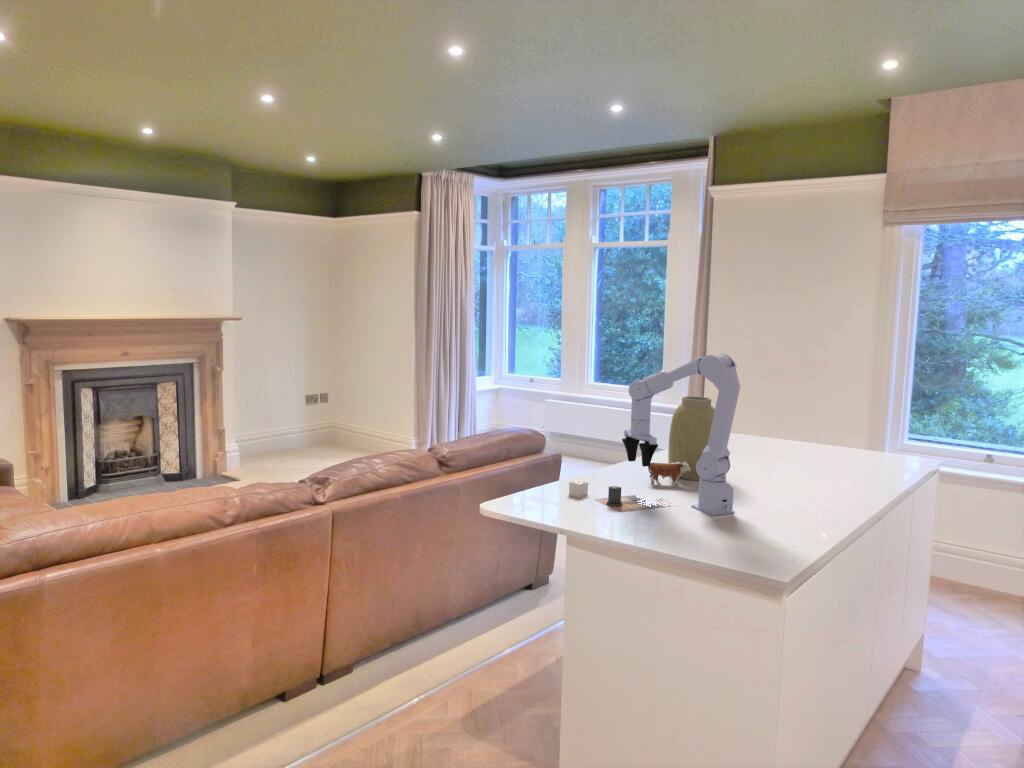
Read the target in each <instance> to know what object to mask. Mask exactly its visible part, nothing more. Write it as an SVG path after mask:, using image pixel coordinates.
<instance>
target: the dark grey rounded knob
mask: <svg viewBox="0 0 1024 768" xmlns="http://www.w3.org/2000/svg"><path fill="white" fill-rule="evenodd" d="M607 495H608V496H607V498H608V501H607V505H608V506H607V505H606V506H607V507H609V506H612V507H620V506H622V502H621V497H622V487H620V486H617V485H611V486H608V494H607Z"/></svg>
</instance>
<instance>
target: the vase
mask: <svg viewBox="0 0 1024 768" xmlns="http://www.w3.org/2000/svg"><path fill="white" fill-rule="evenodd" d="M714 412H715V407H714V406H713V405H712V398H710V397H704V396H683V397H682V398H681V404H680V405H678V406H677V407H676V409H675V410H674V411H673V414H672V419H671V422H670V427H669V437H668V447H667V448H668V450H667V451H668V453H667V461H668V462H667V463H676V462H681V463H683V462H684V461H685V462H686V463H687V464H688V465H689V468H690V469H691V471H689V472H688V471H687V472H685V473H683V474H682V475H681V476H680V477H679V478H678V479H682V480H688V479H689V480H688V481H699V478H700V476H699V475H698V474H697V472H696V464H697V462H698V460H699V459H700V458H701V455H702V452H703V450H704V449H705V447H706V446H707V444H708V440H709V435H710V430H711V426H712V421H713V416H714Z"/></svg>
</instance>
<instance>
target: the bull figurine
mask: <svg viewBox="0 0 1024 768" xmlns="http://www.w3.org/2000/svg"><path fill="white" fill-rule="evenodd" d="M647 469H648V473H650V475H649V478H650V483H652V484H655V482H656V485H657V486H662V483H660V481H659V476H660V477H661V478H662V479H663V480H665V478H666V477H667V478H669V477H670V478H672V481H671V486H672V485H673V486H672V487H675V486H676V485H679V483H678V479H680V478H679V477H680V476H681V475H682V474H683V473H685V472H687V471H688V472H689V471H691V469H690V468H689V465H688V464H687V463H686V462H685V461H684V462H683V463H681V462H676V463H668V462H667V463H665V462H664V463H663V462H662V463H661V462H650V466H647Z"/></svg>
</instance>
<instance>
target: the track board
mask: <svg viewBox="0 0 1024 768" xmlns="http://www.w3.org/2000/svg"><path fill="white" fill-rule="evenodd" d="M636 495H637V494H636ZM636 495H635V494H633V495H626V496H625V495H624V496H621V502H622V506H620V507H612V506H608V505H607V501H608V497H606V498H595V499H594V501H597V502H599V503H601V504H603V505H605V506H607V507H609V508H611V509H613V510H614V511H617V512H619V513H624V512H635V511H644V510H654V509H661V508H662V509H663V508H670V505H668V506H669V507H668V506H667V507H665V506H662V505H666V504H663V503H664V502H661V501H663V500H664V498H663V497H660V498H661V499H659V500H658V501H657V502H659V501H660V500H661V501H660V503H661V505H659V504H660V503H658V504H656V505H657V506H655V505H652V504H653V503H652V504H651V507H649V506H646V505H643V504H644V503H642V505H641V504H638V503H641V502H637V501H638V500H639V501H640V500H641V499H642V498H641V499H640V498H637V497H636ZM658 497H659V496H658ZM658 497H657V498H658ZM643 498H644V497H643ZM662 499H663V500H662ZM656 500H657V499H656ZM645 501H646V500H644V501H642V502H645ZM654 501H655V500H654ZM667 501H668V502H669V501H670V500H667ZM657 502H656V503H657ZM665 502H666V501H665ZM670 502H671V503H673V502H672V501H670ZM671 503H668V504H671ZM645 504H646V503H645ZM649 505H650V504H649Z"/></svg>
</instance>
